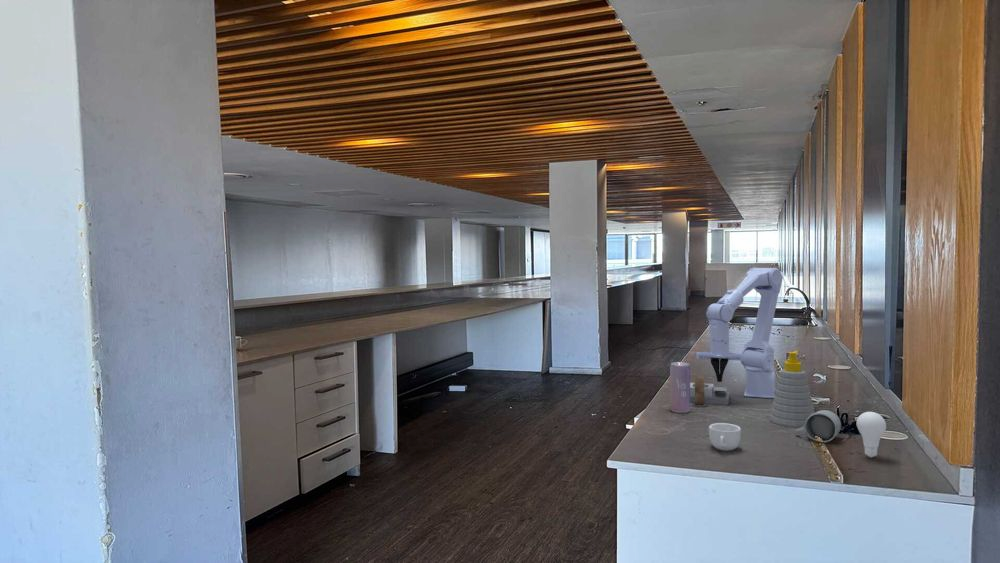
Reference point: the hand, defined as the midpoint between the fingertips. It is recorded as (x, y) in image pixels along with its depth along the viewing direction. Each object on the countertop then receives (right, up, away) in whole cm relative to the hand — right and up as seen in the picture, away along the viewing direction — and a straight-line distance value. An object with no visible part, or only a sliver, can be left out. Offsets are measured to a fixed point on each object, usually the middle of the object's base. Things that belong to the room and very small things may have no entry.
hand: (719, 381), depth 206 cm
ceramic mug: (+12, -9, -40) cm, 42 cm away
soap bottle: (+13, -8, -23) cm, 28 cm away
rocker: (+1, -4, +3) cm, 5 cm away
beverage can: (-16, -8, -9) cm, 20 cm away
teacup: (-15, -10, -47) cm, 51 cm away
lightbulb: (+17, -10, -55) cm, 59 cm away
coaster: (-7, -7, -3) cm, 11 cm away
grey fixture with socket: (-2, -7, +5) cm, 9 cm away
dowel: (-8, -7, -3) cm, 11 cm away
